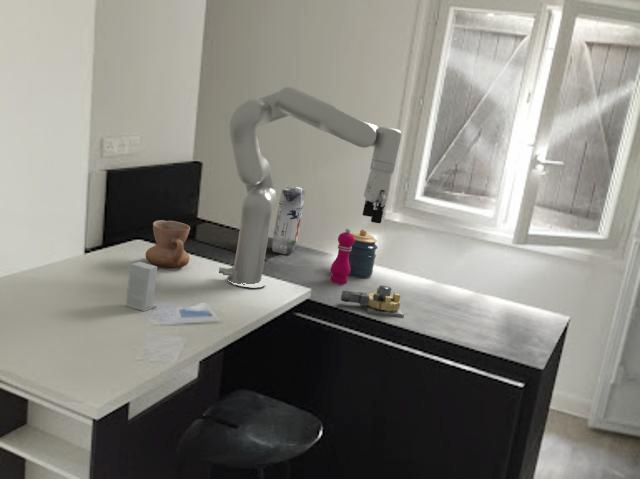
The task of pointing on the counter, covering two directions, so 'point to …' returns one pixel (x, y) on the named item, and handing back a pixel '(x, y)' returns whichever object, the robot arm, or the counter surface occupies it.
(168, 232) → the ceramic jug
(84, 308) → the counter surface
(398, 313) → the grey mounting base
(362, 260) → the canister
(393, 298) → the yellow mechanical assembly
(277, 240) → the juice carton
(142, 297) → the skincare box
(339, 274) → the pepper mill
